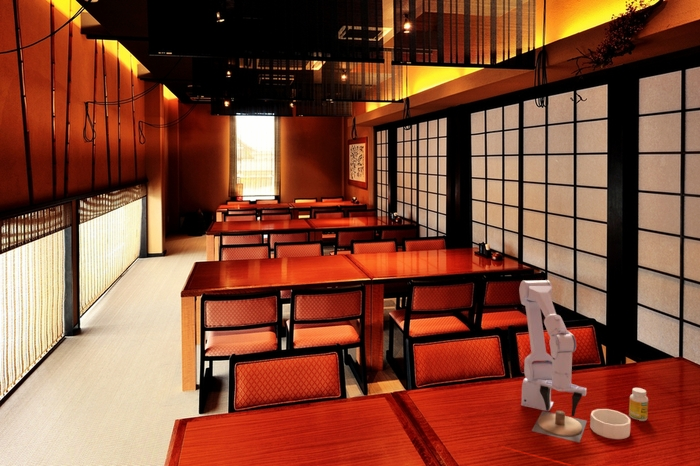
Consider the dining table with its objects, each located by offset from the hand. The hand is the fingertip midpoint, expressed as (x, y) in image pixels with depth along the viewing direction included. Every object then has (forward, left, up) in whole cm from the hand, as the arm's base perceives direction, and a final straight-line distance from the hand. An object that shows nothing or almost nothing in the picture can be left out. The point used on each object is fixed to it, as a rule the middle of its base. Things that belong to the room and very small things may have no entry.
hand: (560, 412), depth 166 cm
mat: (0, 0, -5) cm, 5 cm away
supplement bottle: (+21, +20, -5) cm, 29 cm away
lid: (0, 0, -5) cm, 5 cm away
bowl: (+14, +5, -5) cm, 16 cm away
